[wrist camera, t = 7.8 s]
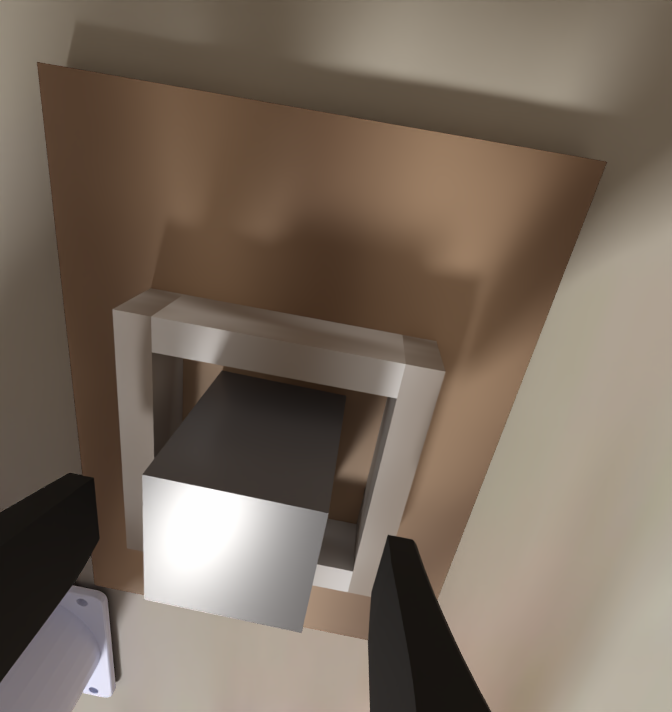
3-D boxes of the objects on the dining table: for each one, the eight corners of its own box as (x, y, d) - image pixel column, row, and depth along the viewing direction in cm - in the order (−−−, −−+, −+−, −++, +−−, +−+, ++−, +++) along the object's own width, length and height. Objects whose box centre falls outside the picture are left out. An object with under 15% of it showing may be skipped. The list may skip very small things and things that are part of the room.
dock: (108, 565, 20) (63, 630, 17) (64, 69, 12) (-35, 41, 9) (415, 627, 19) (421, 704, 16) (588, 161, 11) (654, 162, 9)
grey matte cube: (214, 469, 15) (144, 599, 11) (221, 370, 14) (141, 474, 9) (325, 492, 15) (301, 633, 11) (346, 395, 14) (328, 513, 9)
